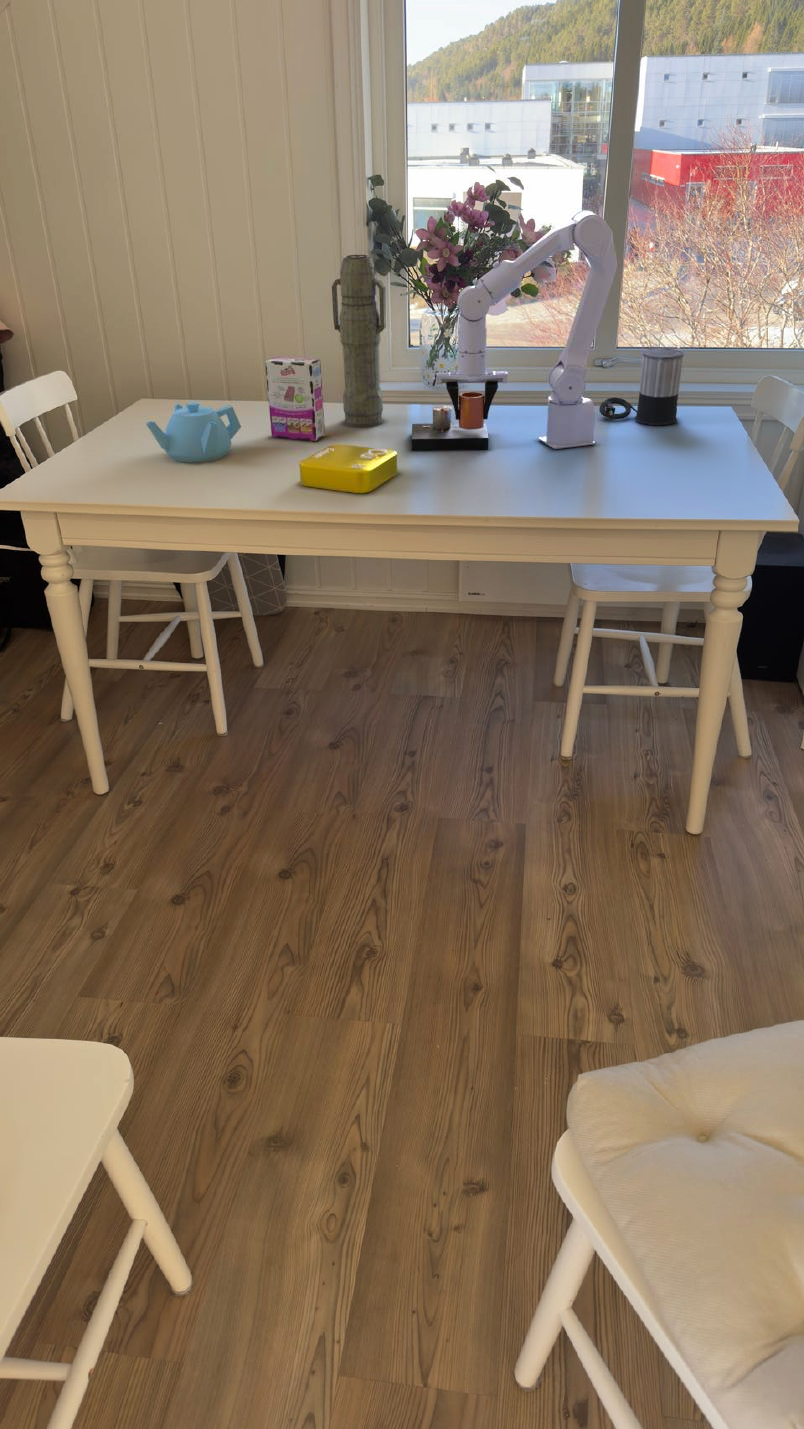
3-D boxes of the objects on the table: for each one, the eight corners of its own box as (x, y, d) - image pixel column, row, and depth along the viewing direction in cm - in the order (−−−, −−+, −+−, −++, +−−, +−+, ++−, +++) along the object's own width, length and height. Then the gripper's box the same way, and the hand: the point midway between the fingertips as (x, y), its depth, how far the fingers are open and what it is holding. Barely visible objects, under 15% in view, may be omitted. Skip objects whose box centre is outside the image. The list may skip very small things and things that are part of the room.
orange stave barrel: (478, 421, 218) (478, 390, 214) (487, 428, 213) (488, 396, 210) (454, 424, 216) (455, 393, 213) (464, 430, 212) (464, 398, 209)
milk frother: (684, 424, 228) (692, 355, 220) (618, 430, 225) (624, 360, 217) (656, 409, 240) (663, 342, 232) (593, 414, 237) (598, 347, 229)
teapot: (218, 467, 207) (212, 414, 201) (149, 464, 210) (142, 410, 205) (245, 446, 220) (240, 395, 214) (180, 443, 223) (174, 392, 217)
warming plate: (485, 432, 225) (485, 420, 224) (488, 449, 214) (488, 437, 212) (412, 433, 226) (412, 421, 224) (411, 451, 214) (411, 438, 213)
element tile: (334, 464, 207) (333, 440, 205) (401, 472, 202) (400, 448, 199) (296, 485, 196) (294, 461, 193) (366, 495, 190) (365, 470, 188)
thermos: (385, 427, 230) (380, 258, 212) (334, 426, 232) (325, 258, 214) (392, 417, 238) (388, 253, 220) (343, 416, 239) (335, 253, 222)
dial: (432, 424, 222) (432, 404, 220) (451, 424, 222) (451, 404, 220) (432, 429, 219) (432, 409, 217) (451, 429, 219) (451, 408, 217)
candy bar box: (326, 436, 225) (321, 358, 217) (316, 442, 221) (311, 363, 213) (281, 431, 229) (275, 355, 221) (270, 437, 225) (263, 360, 217)
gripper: (436, 355, 204) (436, 424, 211) (509, 354, 203) (507, 422, 210) (436, 348, 210) (436, 415, 217) (507, 347, 210) (504, 414, 216)
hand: (471, 418), depth 214 cm, fingers closed on orange stave barrel, 5 cm apart
